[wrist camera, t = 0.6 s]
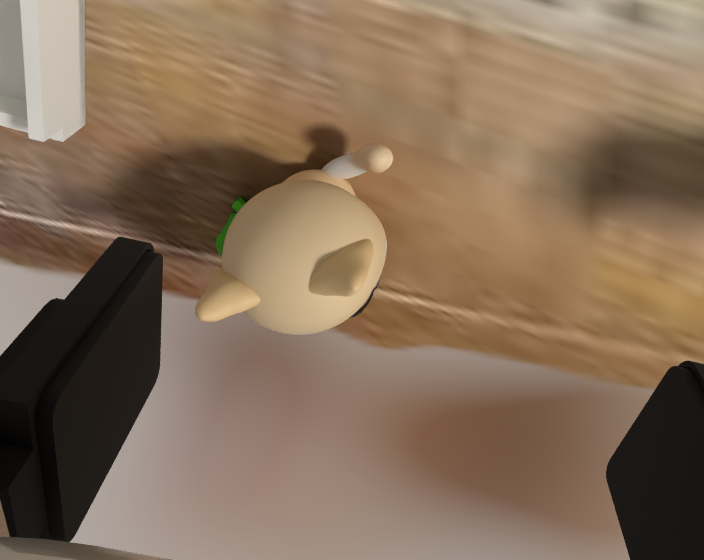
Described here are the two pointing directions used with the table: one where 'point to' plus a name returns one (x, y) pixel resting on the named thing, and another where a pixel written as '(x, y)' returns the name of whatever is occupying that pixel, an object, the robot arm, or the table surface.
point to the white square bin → (42, 67)
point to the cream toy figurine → (301, 250)
